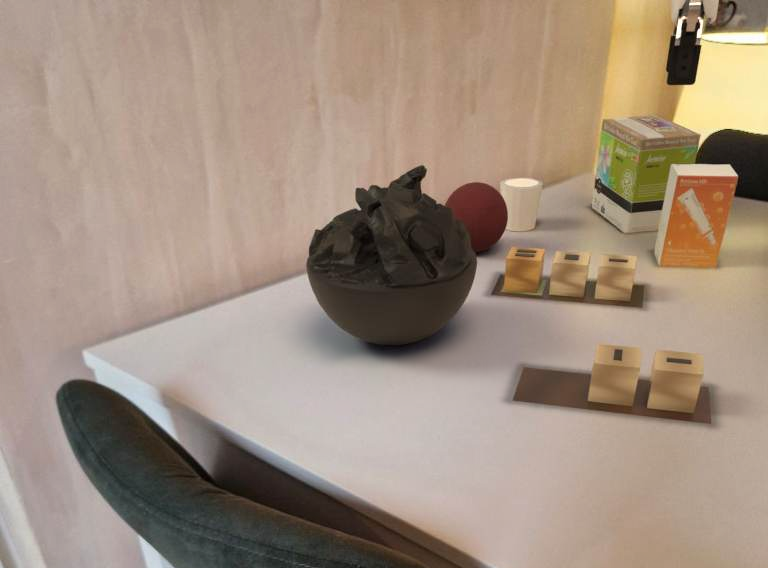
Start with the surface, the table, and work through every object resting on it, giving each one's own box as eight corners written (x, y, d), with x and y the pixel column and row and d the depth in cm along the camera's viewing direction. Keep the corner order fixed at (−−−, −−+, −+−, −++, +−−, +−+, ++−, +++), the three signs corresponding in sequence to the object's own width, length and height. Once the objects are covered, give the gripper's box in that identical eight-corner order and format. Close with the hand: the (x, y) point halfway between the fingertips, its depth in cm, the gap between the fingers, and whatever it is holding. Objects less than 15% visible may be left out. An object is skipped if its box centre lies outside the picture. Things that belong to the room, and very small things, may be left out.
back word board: (643, 288, 105) (650, 251, 102) (642, 311, 99) (649, 273, 96) (500, 277, 110) (502, 241, 107) (490, 298, 104) (492, 261, 101)
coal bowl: (368, 392, 84) (361, 218, 73) (285, 331, 98) (267, 175, 86) (507, 344, 93) (519, 181, 81) (412, 294, 106) (411, 148, 95)
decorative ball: (437, 260, 116) (438, 192, 110) (445, 238, 124) (446, 173, 118) (503, 262, 115) (508, 193, 109) (507, 240, 123) (511, 175, 116)
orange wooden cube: (542, 281, 107) (545, 248, 104) (537, 293, 104) (540, 259, 101) (509, 278, 108) (511, 246, 105) (503, 290, 105) (506, 257, 102)
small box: (658, 269, 111) (676, 174, 103) (652, 254, 116) (670, 162, 108) (716, 271, 110) (739, 175, 102) (708, 255, 115) (730, 163, 107)
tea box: (588, 209, 134) (601, 116, 125) (642, 205, 135) (658, 112, 126) (625, 236, 122) (641, 136, 113) (683, 231, 124) (704, 131, 115)
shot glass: (496, 232, 126) (499, 187, 122) (498, 219, 131) (501, 176, 127) (538, 233, 125) (543, 188, 121) (538, 220, 130) (542, 176, 126)
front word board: (708, 390, 82) (719, 347, 79) (710, 428, 76) (723, 383, 73) (523, 370, 87) (526, 329, 84) (511, 404, 81) (515, 361, 78)
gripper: (752, -104, 76) (716, 89, 87) (738, -101, 89) (708, 67, 100) (673, -98, 78) (647, 90, 89) (670, -96, 91) (648, 68, 102)
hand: (679, 78), depth 94 cm, fingers open, 9 cm apart
